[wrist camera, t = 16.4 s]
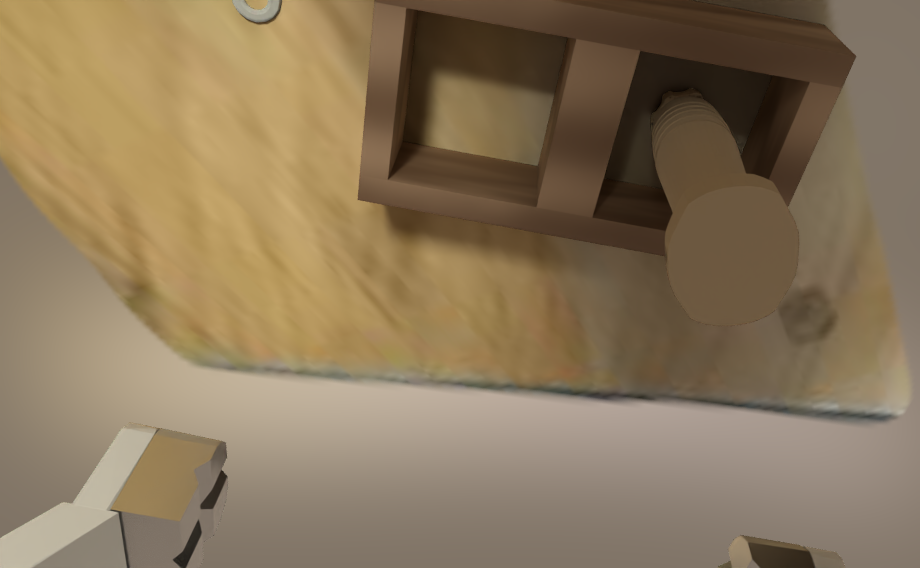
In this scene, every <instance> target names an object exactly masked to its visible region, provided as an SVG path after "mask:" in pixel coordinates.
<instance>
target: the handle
mask: <svg viewBox="0 0 920 568" xmlns="http://www.w3.org/2000/svg"><path fill="white" fill-rule="evenodd" d="M650 127H651V132H652V149H653V157H654V162H655V166H656V170H657V174H658V177H659V179H660V182H661V184H662V187H663V189H664V192H665V194H666V197H667V199H668V202H669V204H670V207H671V210H672V212H673V214H672V216H671V218H670V221H669V223H668V226H667V229H666V232H665V260H666V270H667V275H668V278H669V282H670V286H671V288H672V291H673V293H674V295H675V297H676V298H677V300H678V301H679V303H680V304H681V306H682V307H683V309H684V310H685V312H686V313H687V315H688V316H689V318H690V319H692V320H695V321H697V322H700V323H703V324H706V325H714V326H733V325H740V324H746V323H750V322H754V321H757V320H759V319H761V318H763V317H766V316H767V315H769V314H771V313H773V312H774V311H775V309H776V308H777V306H778V305H779V303H780V302H781V300H782V299H783V297H784V295H785V294H786V292H787V291H788V289H789V288H790V286H791V284H792V282H793V280H794V277H795V275H796V270H797V265H798V251H799V232H798V229H797V226H796V223H795V221H794V219H793V217H792V215H791V213H790V211H789V209H788V207H787V205H786V204H785V202H784V200H783V198H782V196H781V195H780V193H779V191H778V189H777V188H776V186H775V184H774V183H773V182H772V181H770V180H768V179H766V178H764V177H761V176H758V175H755V174H746V172H745V169H744V166H743V162H742V159H741V156H740V153H739V150H738V146H737V144H736V141H735V139H734V137H733V135H732V133H731V131H730V129H729V127H728V126H727V124H726V123H725V121H724V120H723V118H722V117H721V115H720V114H719V112H718V111H717V110H716V109H715V108H714V107H713V106H712V105H711V104H710V103H708V102H707V101H705V100H703V98H702V95H701V93H700V92H699V91H698V90H695V89H692V88H689V89H688V90H686V91H683V92H672V91H668V92H667V93H665V94H664V95H663V99H662V102H661V104H660V106H659V108H658V109H657V111H656V112H654V113H653V114H652V116H651V120H650Z"/></svg>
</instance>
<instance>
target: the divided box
mask: <svg viewBox="0 0 920 568" xmlns="http://www.w3.org/2000/svg"><path fill="white" fill-rule="evenodd" d="M418 10H420V11H426V12H431V13H437V14H442V15H448V16H453V17H459V18H464V19H469V20H475V21H480V22H486V23H491V24H497V25H502V26H508V27H513V28H519V29H524V30H529V31H535V32H540V33H546V34H551V35H557V36H562V37H568V39H567V43H566V47H565V52H564V56H563V60H562V65H561V69H560V73H559V78H558V82H557V86H556V91H555V95H554V99H553V104H552V108H551V112H550V117H549V121H548V125H547V130H546V134H545V138H544V143H543V147H542V151H541V156H540V160H539V164H538V166H533V165H528V164H522V163H517V162H511V161H506V160H500V159H495V158H489V157H484V156H479V155H473V154H468V153H462V152H457V151H451V150H446V149H440V148H435V147H429V146H424V145H418V144H413V143H407V142H403V136H404V127H405V119H406V110H407V102H408V93H409V85H410V76H411V68H412V59H413V51H414V42H415V34H416V25H417V17H418ZM640 51H644V52H649V53H655V54H660V55H666V56H671V57H676V58H682V59H687V60H693V61H698V62H704V63H709V64H715V65H720V66H726V67H731V68H736V69H742V70H747V71H753V72H758V73H764V74H769V75H773V77H772V79H771V82H770V84H769V87H768V89H767V92H766V94H765V97H764V99H763V102H762V104H761V107H760V109H759V112H758V115H757V117H756V120H755V122H754V125H753V127H752V130H751V132H750V135H749V137H748V140H747V142H746V145H745V147H744V150H743V152H742V155H741V159H742V162H743V166H744V169H745V172H746V174H755V175H758V176H761V177H764V178H766V179H768V180H770V181H772V182H773V183H774V184H775V186H776V188H777V189H778V191H779V193H780V195H781V196H782V198H783V200H784V202H785V204H786V205H787V207H788V206H789V204H790V201H791V199H792V197H793V195H794V193H795V190H796V188H797V186H798V184H799V182H800V179H801V177H802V175H803V173H804V171H805V168H806V166H807V164H808V162H809V160H810V157H811V155H812V153H813V151H814V148H815V146H816V144H817V142H818V140H819V137H820V135H821V133H822V131H823V129H824V126H825V124H826V122H827V120H828V118H829V115H830V113H831V111H832V109H833V107H834V104H835V102H836V100H837V98H838V95H839V93H840V91H841V89H842V87H843V84H844V82H845V80H846V78H847V76H848V73H849V71H850V69H851V67H852V65H853V62H854V60H855V58H856V55H855V54H853V53H852V52H851V51H850V50H849V49H848V48H847V47H846V46H845V45H844V44H843V43H842V42H841V41H840V40H839V39H838V38H837V37H836V36H835V35H834V34H833V33H832V32H831V31H830V30H829V29H828V28H827V27H826V26H825V25H822V24H817V23H812V22H806V21H801V20H795V19H790V18H784V17H779V16H773V15H768V14H763V13H757V12H752V11H746V10H741V9H735V8H730V7H724V6H719V5H714V4H708V3H703V2H697V1H692V0H375V1H374V13H373V25H372V37H371V48H370V60H369V72H368V84H367V96H366V107H365V119H364V131H363V143H362V155H361V166H360V178H359V190H358V200H361V201H366V202H372V203H377V204H383V205H388V206H394V207H399V208H405V209H410V210H416V211H421V212H427V213H432V214H438V215H443V216H449V217H454V218H460V219H465V220H471V221H476V222H481V223H487V224H492V225H498V226H503V227H509V228H514V229H520V230H525V231H531V232H536V233H542V234H547V235H553V236H558V237H564V238H569V239H575V240H580V241H586V242H591V243H596V244H602V245H607V246H613V247H618V248H624V249H629V250H635V251H640V252H646V253H651V254H657V255H662V256H665V232H666V229H667V226H668V223H669V221H670V218H671V216H672V214H673V212H672V210H671V207H670V204H669V202H668V199H667V197H666V194H665V192H664V189H659V188H653V187H648V186H643V185H637V184H632V183H626V182H621V181H615V180H610V179H604V175H605V172H606V168H607V165H608V161H609V158H610V154H611V151H612V147H613V144H614V140H615V137H616V134H617V130H618V127H619V123H620V120H621V116H622V113H623V109H624V106H625V102H626V99H627V95H628V92H629V88H630V85H631V81H632V78H633V75H634V71H635V68H636V64H637V61H638V57H639V54H640Z"/></svg>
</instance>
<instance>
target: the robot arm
mask: <svg viewBox="0 0 920 568" xmlns="http://www.w3.org/2000/svg"><path fill="white" fill-rule="evenodd" d="M226 458H227V451H226V443H225V442H223V441H219V440H214V439H209V438H205V437H200V436H195V435H191V434H186V433H181V432H176V431H172V430H166V429H162V428H161V429H160V428H156V427H151V426H146V425H141V424H136V423H131V422H130V423H128V424H127V425H126V426H125V427H124V428H122V429H121V430H120V431H119V433H118V435H117V436H116V438H115V439H114V441H113V442H112V444H111V445H110V447H109V448H108V450H107V451H106V453H105V455H104V456H103V458H102V459H101V461H100V462H99V464H98V465H97V467H96V469H95V470H94V472H93V473H92V474H91V476H90V477H89V479H88V481H87V482H86V484H85V485H84V487H83V488H82V490H81V491H80V493H79V494H78V496H77V497H76V499H75V500H74V502H73V504H71V503H64V502H62V503H61V504H59V505H57V506H55V507H54V508H52V509H51V510H49V511H47V512H45V513H43V514H41V515H40V516H38V517H36V518H34V519H33V520H31V521H29V522H27V523H26V524H24V525H22V526H20V527H19V528H17V529H15V530H13V531H12V532H10V533H8V534H6V535H5V536H3V537H1V538H0V568H200V566H201V564H202V562H203V542H205V541H206V540H208V539H209V538H211V537H212V536H214V534H215V532H216V530H217V527H218V525H219V522H220V520H221V517H222V513H223V510H224V506H225V503H226V497H227V489H228V477H227V475H226V474H225V473H224V472H223V471H222V467H223V465H224V463H225V460H226ZM728 551H729V555H730V561H728V562H727V563H724V564H722V565H720V566H718V568H845V565H844V563H843V560H842V558H841V557H840V556H839V555H838V554H837V553H836V552H832V551H826V550H821V549H816V548H810V547H802V546H800V545H796V544H790V543H785V542H779V541H773V540H767V539H761V538H755V537H749V536H743V535H740V536H738V537H736V538H735V539H734V540H733V542H732V543H731V545H730V547H729V548H728Z"/></svg>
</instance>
